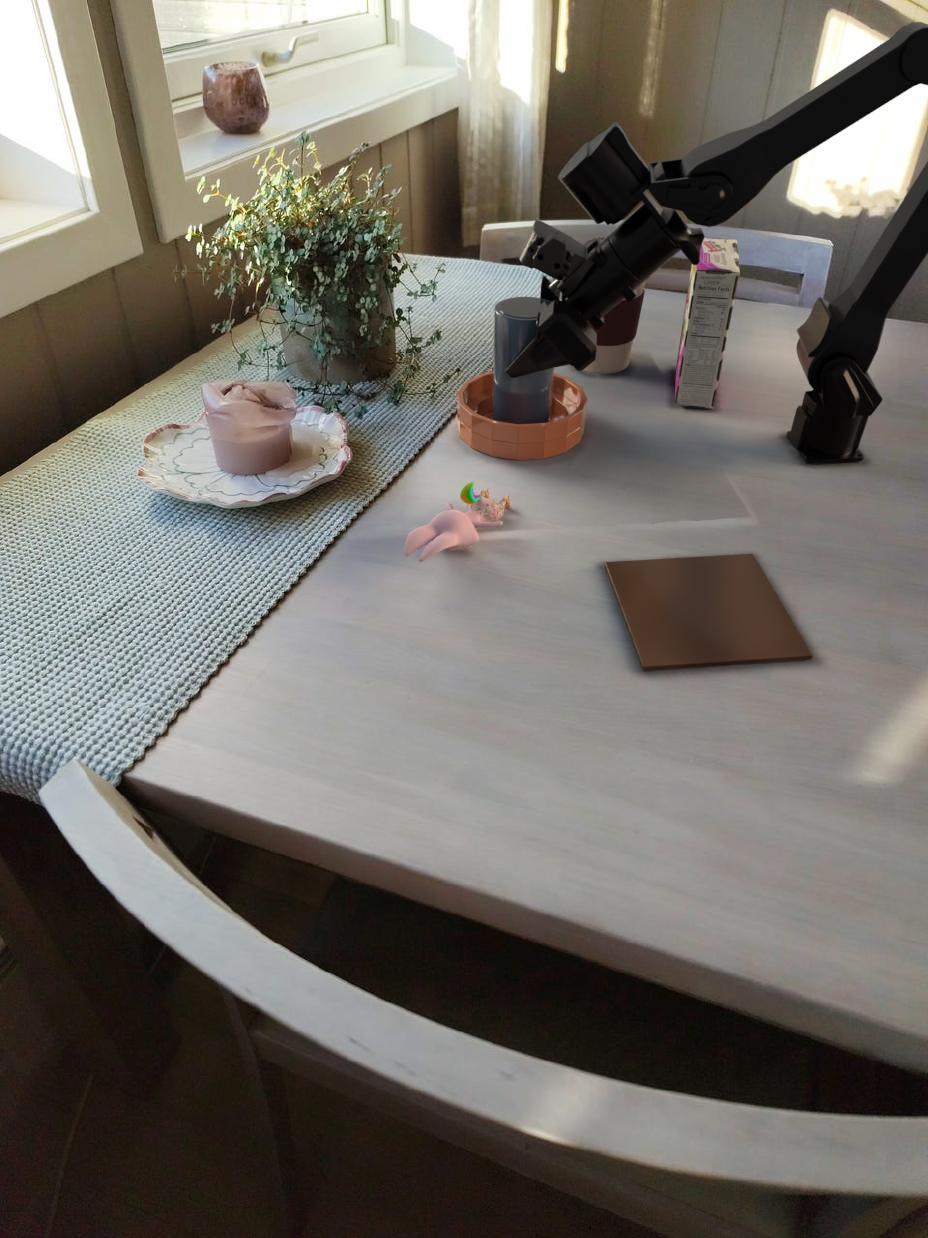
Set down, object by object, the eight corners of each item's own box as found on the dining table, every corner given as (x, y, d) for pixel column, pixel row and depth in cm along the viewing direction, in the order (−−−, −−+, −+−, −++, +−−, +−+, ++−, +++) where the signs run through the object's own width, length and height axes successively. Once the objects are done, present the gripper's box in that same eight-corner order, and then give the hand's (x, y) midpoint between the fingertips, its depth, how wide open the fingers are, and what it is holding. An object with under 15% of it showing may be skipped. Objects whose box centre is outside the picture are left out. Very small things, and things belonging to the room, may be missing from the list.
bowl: (569, 401, 105) (572, 366, 102) (594, 460, 94) (598, 423, 91) (453, 406, 104) (452, 370, 101) (464, 466, 93) (464, 429, 90)
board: (751, 557, 81) (752, 553, 80) (811, 659, 70) (813, 655, 70) (604, 566, 80) (604, 561, 79) (642, 671, 69) (643, 666, 69)
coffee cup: (619, 388, 108) (634, 264, 98) (548, 369, 112) (556, 249, 102) (650, 359, 114) (667, 241, 104) (582, 343, 118) (593, 227, 108)
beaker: (545, 406, 101) (552, 294, 92) (555, 433, 96) (563, 317, 87) (489, 408, 100) (490, 296, 92) (496, 436, 95) (498, 320, 87)
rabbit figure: (470, 510, 89) (383, 563, 78) (475, 455, 86) (385, 503, 75) (522, 528, 87) (441, 586, 75) (530, 473, 83) (446, 525, 72)
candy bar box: (673, 368, 112) (695, 235, 101) (712, 371, 111) (739, 238, 101) (671, 407, 104) (695, 267, 93) (714, 411, 103) (742, 270, 92)
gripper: (574, 170, 89) (468, 275, 98) (570, 224, 75) (446, 341, 83) (641, 251, 94) (534, 345, 102) (649, 317, 80) (525, 420, 88)
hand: (511, 360), depth 94 cm, fingers closed on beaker, 6 cm apart
